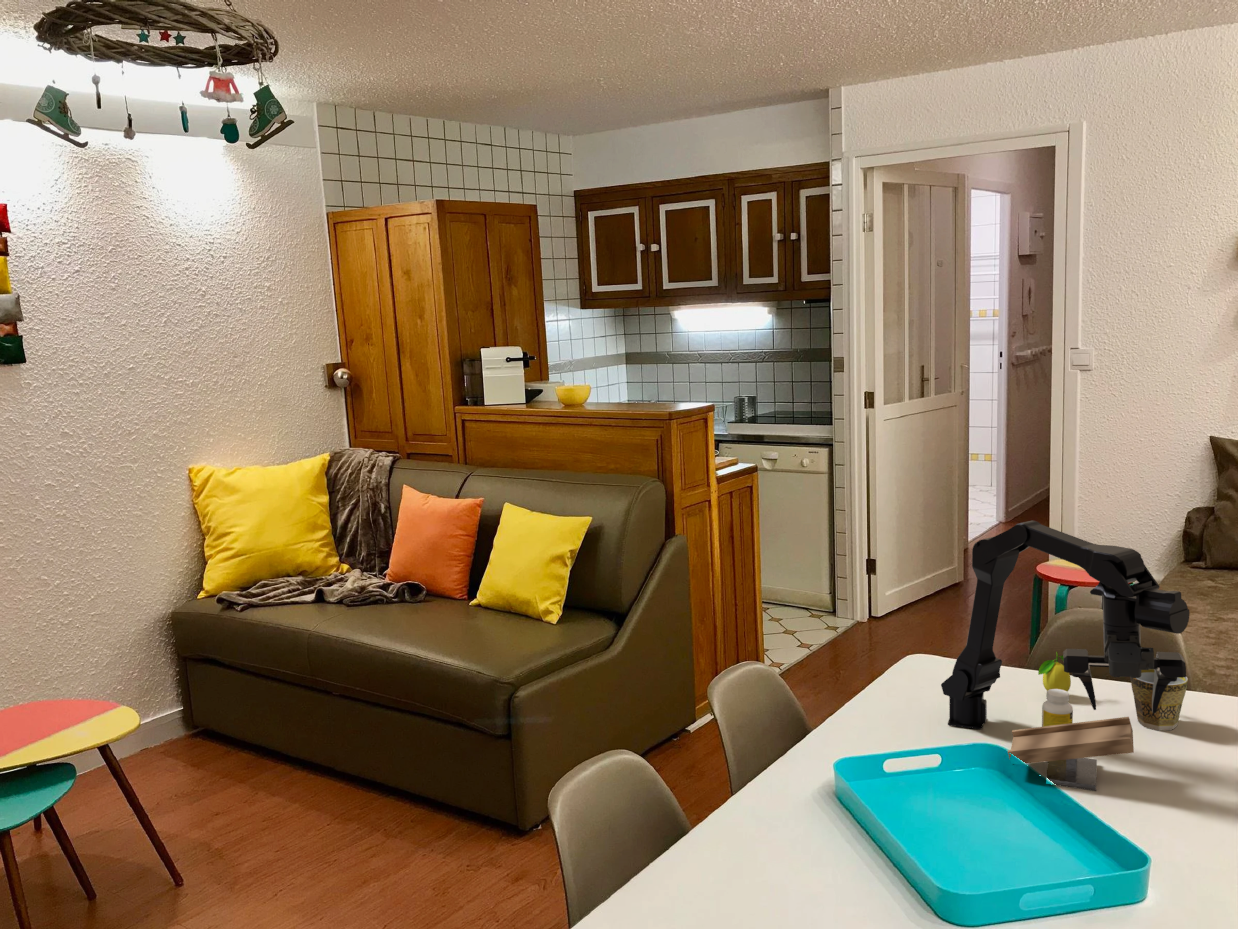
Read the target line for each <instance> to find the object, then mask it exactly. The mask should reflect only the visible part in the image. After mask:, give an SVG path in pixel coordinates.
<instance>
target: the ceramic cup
mask: <svg viewBox="0 0 1238 929" xmlns="http://www.w3.org/2000/svg"><path fill="white" fill-rule="evenodd" d="M1154 671H1155V669H1149V670H1141V677H1139V678H1132V677H1129V678H1130V684H1131V691H1132V694H1133V699H1134V706H1135V712H1136V718H1137V722H1138V723H1139V724H1140V725H1141V726H1143V728H1145V727H1147V728H1146V729H1149V728H1150V729H1149V730H1153V729H1154V730H1153V731H1158V730H1159V732H1161V731H1160V730H1170V731H1173V730H1174V729H1175V728H1176V727H1177V726H1178V723H1179V721H1180V720H1179V719H1180V714H1181V710H1182V707H1183V701H1184V698H1185V695H1186V691H1187V687H1188V681H1189V678H1188V677H1187V676H1186V677H1183V678H1181V677H1177V681H1175V682H1170V683H1169V684H1168V685H1167V686H1166V688H1165V690H1164V692H1163V694H1162V696H1161V699H1160V702H1159V705H1158V707H1157V710H1156V713H1153V712H1152V694H1153V682H1154ZM1172 729H1173V730H1172Z"/></svg>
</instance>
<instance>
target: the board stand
mask: <svg viewBox="0 0 1238 929" xmlns="http://www.w3.org/2000/svg"><path fill="white" fill-rule="evenodd" d="M1097 764H1098V759H1097V758H1090V757H1086V758H1076V759H1066V760H1057V761H1047V766H1046V773H1045V778H1046V777H1047V778H1048V779H1049V780H1050V781H1052V782H1053V783H1054V784H1056V785H1057V787H1062V788H1063V787H1065V788H1071V789H1080V790H1086V791H1092V792H1093V791H1094V792H1097V772H1098V771H1097V769H1098V767H1097ZM1056 785H1055V786H1056Z"/></svg>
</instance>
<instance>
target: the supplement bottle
mask: <svg viewBox="0 0 1238 929" xmlns="http://www.w3.org/2000/svg"><path fill="white" fill-rule="evenodd" d="M1045 694H1046V696H1045V697H1046V700H1045V701H1043V703H1042V705H1041V727H1044V726H1053V725H1061V724H1070V723H1074V722H1073V717H1074V712H1073V711H1074V710H1073V705H1072V704H1071V703H1070V693H1069V691H1068V692H1067V691H1065V690H1061V689H1050V690H1048V691H1047V690H1046V693H1045Z"/></svg>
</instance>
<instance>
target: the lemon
mask: <svg viewBox="0 0 1238 929" xmlns="http://www.w3.org/2000/svg"><path fill="white" fill-rule="evenodd" d="M1055 654H1056V658H1055V659H1048V660H1045V661H1043V663H1042V664H1041V665H1040V666H1039V668H1038V671H1037V674H1038V675H1042V685H1043V687H1044V689H1045V690H1046V692H1047V691H1048V690H1050V689H1061V690H1065V691H1067V692H1068V693H1069V691H1070V689H1071V683H1072V682H1071V681H1072V680H1071V675H1070V674H1071V673H1067V672H1064V664H1062V663H1061V662H1059V661H1058V660H1059V658H1060V659H1061V660H1062V662H1064V659H1063V654H1062V655H1058V651H1056V653H1055Z"/></svg>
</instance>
